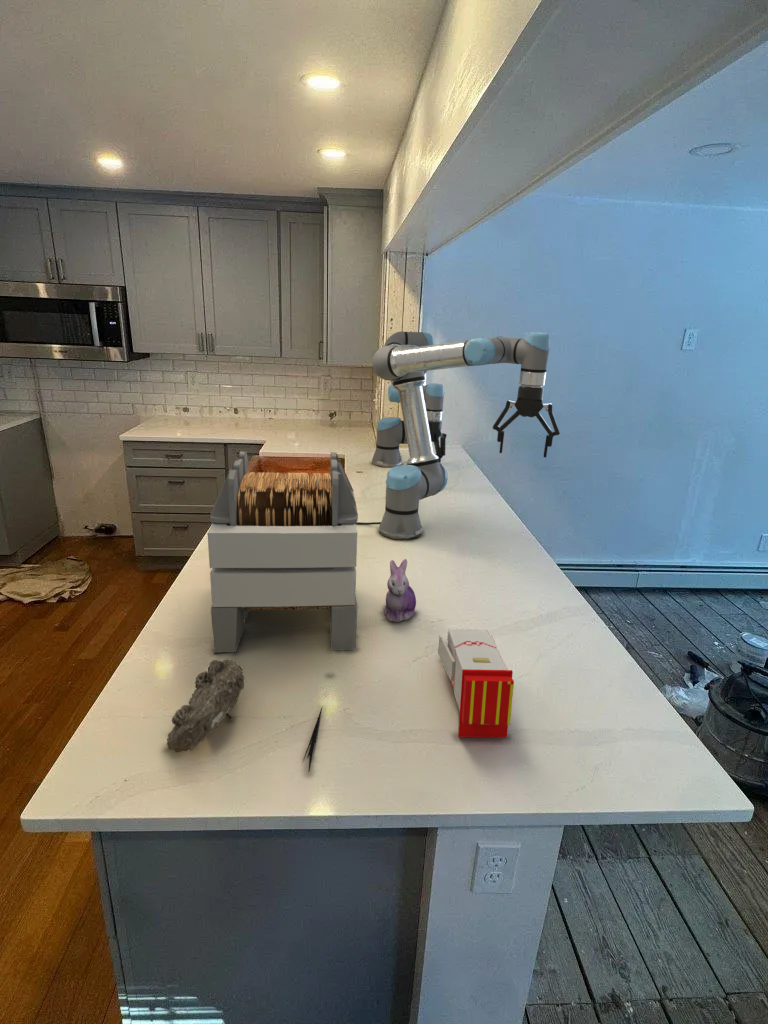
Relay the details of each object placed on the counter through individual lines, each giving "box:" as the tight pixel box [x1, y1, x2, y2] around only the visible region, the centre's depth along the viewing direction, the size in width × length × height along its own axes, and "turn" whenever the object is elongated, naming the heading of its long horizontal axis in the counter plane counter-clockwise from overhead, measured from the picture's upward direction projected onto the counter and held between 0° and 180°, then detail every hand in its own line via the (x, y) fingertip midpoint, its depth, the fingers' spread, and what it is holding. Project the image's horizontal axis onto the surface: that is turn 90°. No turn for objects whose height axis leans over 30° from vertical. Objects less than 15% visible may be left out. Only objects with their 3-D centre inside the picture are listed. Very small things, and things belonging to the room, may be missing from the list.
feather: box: [301, 673, 332, 771], centre depth 108 cm, size 2×28×2 cm
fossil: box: [166, 658, 245, 754], centre depth 106 cm, size 22×10×15 cm
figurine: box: [384, 558, 417, 623], centre depth 145 cm, size 9×10×15 cm
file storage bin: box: [206, 450, 359, 654], centre depth 137 cm, size 34×33×41 cm
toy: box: [437, 628, 515, 738], centre depth 117 cm, size 12×13×30 cm
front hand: (522, 454), depth 179 cm, fingers open, 13 cm apart
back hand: (429, 471), depth 252 cm, fingers closed on tin, 6 cm apart
